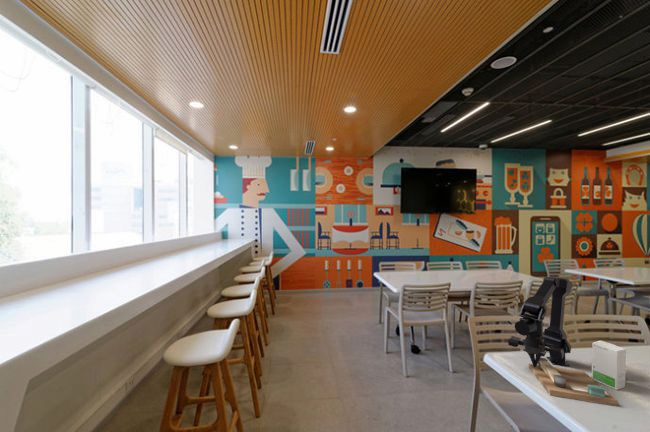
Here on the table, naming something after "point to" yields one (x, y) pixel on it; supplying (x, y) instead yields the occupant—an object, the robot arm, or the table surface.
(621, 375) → the skincare box
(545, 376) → the tan wooden flat tray
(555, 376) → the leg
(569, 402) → the table surface
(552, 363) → the robot arm
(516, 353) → the table surface
